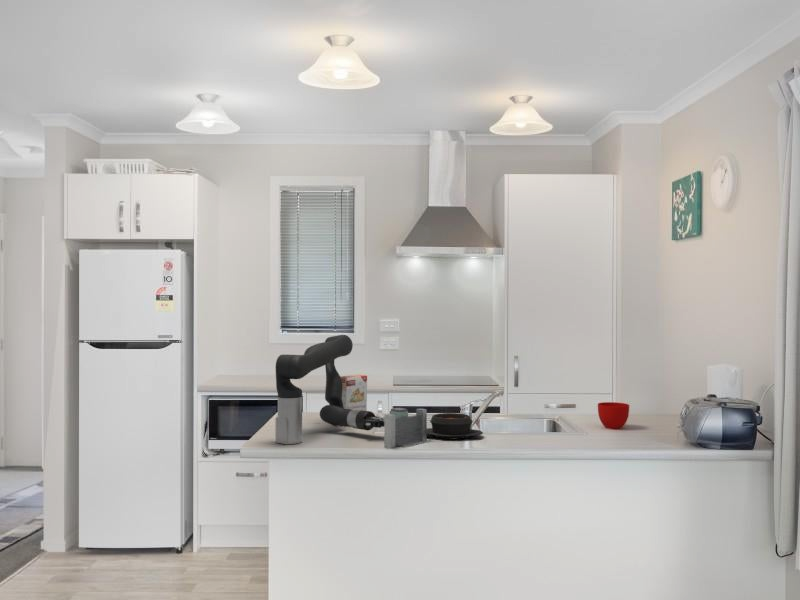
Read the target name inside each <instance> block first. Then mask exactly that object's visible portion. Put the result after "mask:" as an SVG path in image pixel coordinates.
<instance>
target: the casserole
mask: <svg viewBox="0 0 800 600" xmlns="http://www.w3.org/2000/svg"><path fill="white" fill-rule="evenodd" d="M429 422H430V423H431V427H430V428H427V436H435V437H437V438H439V439H443V440H459V439H460V440H461V439H465V438H467V437H478V436H482V435H483V434H484V432H483V431H481V430H480V429H472V427H471V425H472V423H473V420H472V419H471V416H470V415H468V414H466V413H464V414H463V413H457V412H454V413H452V412H444V413H436V414H433V415H431V419H430V421H429Z"/></svg>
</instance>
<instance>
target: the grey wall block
mask: <svg viewBox="0 0 800 600" xmlns="http://www.w3.org/2000/svg"><path fill="white" fill-rule="evenodd" d="M427 411H428V410H427V409H425V408H416V414H413V415H408V416H407V417H401V418H396V419H395V415H393V414H390V413H385V414H384V417H383V418H384V427H383V430H384V432H383V433H384V437H383V438H384V443H383V444H384V448H387V449H394V448H398V447H401V448H408V447H413V446H417V445H420V444H425V443H426V444H427V443H428V442H429V440H428V439H427V436H428V435H427V423H428V421H427V420H428V419H427V418H428V417H427V416H428V415H427V413H428V412H427Z"/></svg>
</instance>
